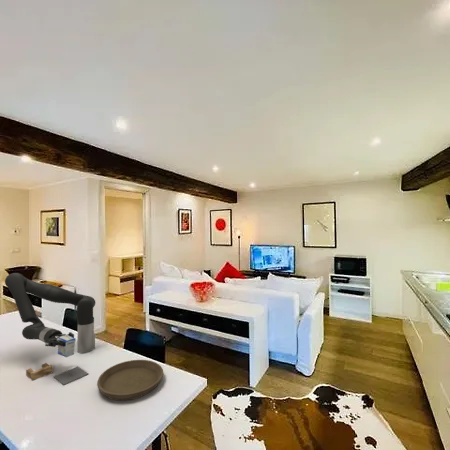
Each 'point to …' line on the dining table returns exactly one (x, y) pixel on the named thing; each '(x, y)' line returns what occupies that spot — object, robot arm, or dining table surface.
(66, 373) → the mat
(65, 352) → the medicine box
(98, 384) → the plant saucer
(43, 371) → the bracket
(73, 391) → the dining table surface
